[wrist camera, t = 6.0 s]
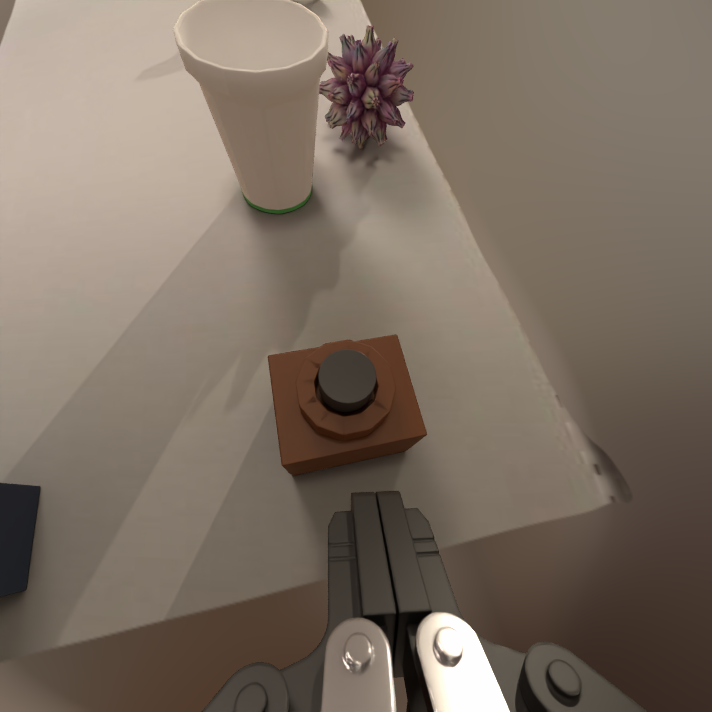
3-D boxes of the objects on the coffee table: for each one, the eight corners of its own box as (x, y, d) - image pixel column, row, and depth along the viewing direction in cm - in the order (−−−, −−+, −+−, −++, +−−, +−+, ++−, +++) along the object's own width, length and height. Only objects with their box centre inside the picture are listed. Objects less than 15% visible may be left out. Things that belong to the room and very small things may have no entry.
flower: (411, 160, 48) (348, 176, 42) (358, 111, 51) (292, 120, 45) (452, 61, 39) (377, 65, 33) (384, 8, 41) (304, 2, 36)
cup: (339, 167, 44) (344, 9, 30) (312, 237, 39) (303, 87, 25) (246, 145, 45) (210, -20, 31) (208, 213, 39) (142, 51, 26)
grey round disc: (324, 417, 22) (324, 408, 20) (314, 366, 23) (313, 353, 21) (378, 406, 22) (382, 397, 21) (366, 357, 24) (369, 344, 22)
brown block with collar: (292, 476, 28) (277, 462, 20) (279, 386, 32) (262, 343, 23) (406, 451, 30) (435, 428, 22) (384, 367, 33) (402, 320, 25)
